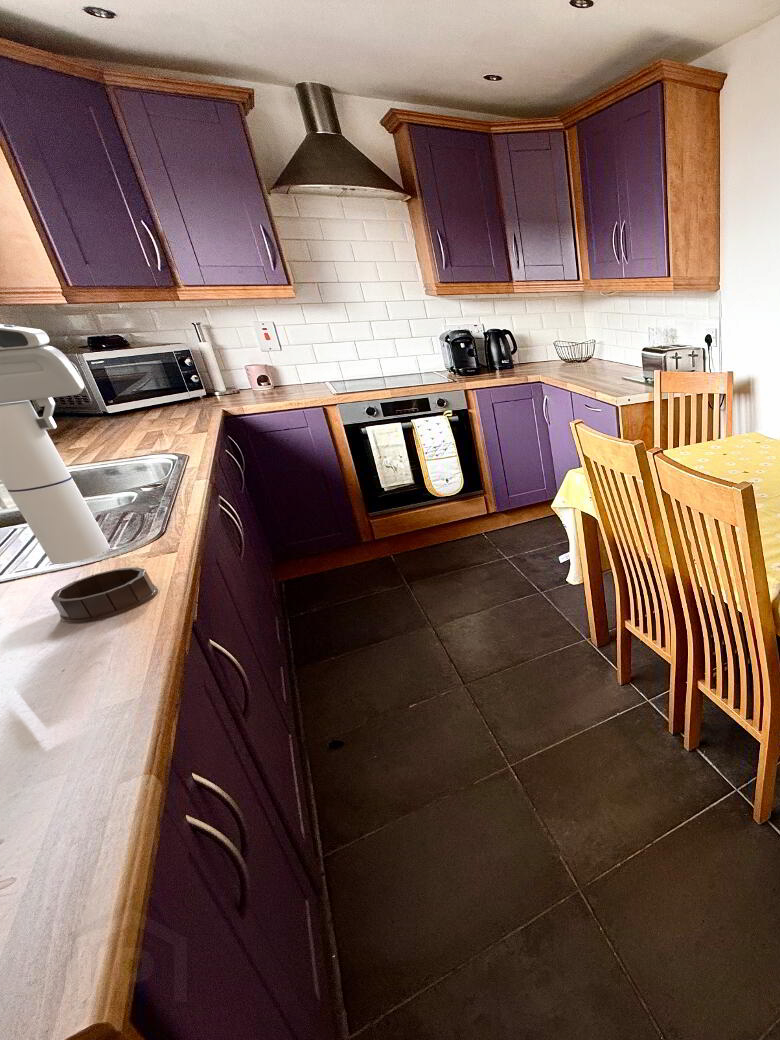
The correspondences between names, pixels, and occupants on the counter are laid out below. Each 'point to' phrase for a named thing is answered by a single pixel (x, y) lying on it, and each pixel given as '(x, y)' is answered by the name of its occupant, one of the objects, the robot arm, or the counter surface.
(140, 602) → the ring
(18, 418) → the cylindrical container
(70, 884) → the counter surface
